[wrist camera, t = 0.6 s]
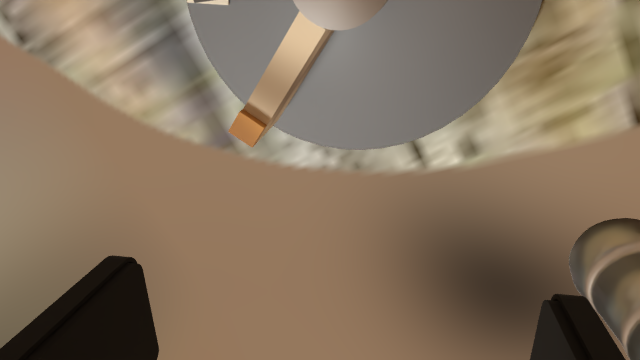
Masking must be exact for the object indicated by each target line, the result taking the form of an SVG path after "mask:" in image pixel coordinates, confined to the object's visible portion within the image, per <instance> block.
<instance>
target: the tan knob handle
mask: <svg viewBox="0 0 640 360" xmlns="http://www.w3.org/2000/svg"><path fill="white" fill-rule="evenodd" d="M293 1H294V3H295V5H296V7H297V8H298V9H299V13H298V14H297V16H296V18H295V20H294V21H293V23H292V25H291V27H290V28H289V30H288V32H287V34H286V35H285V37H284V39H283V41H282V42H281V44H280V46H279V48H278V49H277V51H276V53H275V55H274V56H273V58H272V60H271V61H270V63H269V65H268V67H267V68H266V70H265V72H264V74H263V75H262V77H261V79H260V81H259V82H258V84H257V86H256V88H255V89H254V91H253V93H252V95H251V96H250V98H249V100H248V102H247V103H246V105H245V107H244V109H243V110H241V111H240V112H239V114H238V115H237V117H236V119H235V121H234V122H233V124H232V126H231V128H230V129H229V131H228V132H230V133H231V134H233V135H234V136H236V137H237V138H239V139H240V140H242V141H243V142H245V143H246V144H248V145H249V146H251V147H253V146H254V145H255V144H256V143H257V142H258V141H259V140H260V139H261V138H262V137H263V136H264V135H265V134H266V133H267V131H268V130H269V129H270V128H271V127H272V126H273V125H274V124H275V123H276V122H277V121H278V120H279V118H280V116H281V115H282V113H283V112H284V110H285V108H286V107H287V105H288V104H289V102H290V100H291V99H292V97H293V96H294V94H295V92H296V91H297V89H298V88H299V86H300V84H301V83H302V81H303V80H304V78H305V76H306V75H307V73H308V72H309V70H310V69H311V67H312V65H313V64H314V62H315V61H316V59H317V57H318V56H319V54H320V53H321V51H322V49H323V48H324V46H325V45H326V43H327V41H328V40H329V38H330V37H331V35H332V33H333V32H334V30H348V29H352V28H355V27H358V26H360V25H362V24H364V23H365V22H367V21H368V20H369V19H371V18H372V17H373V16H374V15H375V14H376V13H377V12H379V11H380V10H381V9H382V7H383V6H384V5H385V4H386V2H387V1H388V0H293Z"/></svg>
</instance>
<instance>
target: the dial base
mask: <svg viewBox="0 0 640 360" xmlns="http://www.w3.org/2000/svg"><path fill="white" fill-rule="evenodd" d="M541 3H542V0H388V1H387V2H386V4H385V5H384V6H383V7H382V9H381V10H380V11H379V12H377V13H376V14H375V15H374V16H373V17H372V18H371V19H369V20H368V21H367V22H365V23H364V24H362V25H360V26H358V27H355V28H352V29H348V30H334V32H333V33H332V35H331V37H330V38H329V40H328V41H327V43H326V45H325V46H324V48H323V49H322V51H321V53H320V54H319V56H318V57H317V59H316V61H315V62H314V64H313V65H312V67H311V69H310V70H309V72H308V73H307V75H306V76H305V78H304V80H303V81H302V83H301V84H300V86H299V88H298V89H297V91H296V92H295V94H294V96H293V97H292V99H291V100H290V102H289V104H288V105H287V107H286V108H285V110H284V112H283V113H282V115H281V116H280V118H279V120H278V121H277V122H276V123H275V124H274V125H273V126H274V127H276V128H278V129H279V130H281V131H283V132H285V133H287V134H290V135H292V136H294V137H296V138H299V139H301V140H304V141H308V142H311V143H314V144H317V145H321V146H327V147H333V148H339V149H355V150H365V149H377V148H385V147H390V146H395V145H399V144H404V143H407V142H409V141H412V140H415V139H418V138H421V137H424V136H426V135H428V134H430V133H432V132H434V131H436V130H439V129H441V128H443V127H444V126H446V125H448V124H449V123H451V122H452V121H454V120H455V119H457V118H459V117H460V116H462V115H463V114H464V113H466V112H467V111H468V110H469V109H470V108H472V107H473V106H474V105H475V104H477V103H478V102H479V101H480V100H481V99H482V98H483V97H484V96H485V95H486V94H487V93H488V92H489V91H490V90H491V89H492V88H493V87H494V86H495V85H496V84H497V83H498V82H499V80H500V79H501V78H502V76H503V75H504V74H505V72H506V71H507V70H508V68H509V67H510V66H511V64H512V63H513V62H514V60H515V58H516V57H517V55H518V53H519V52H520V50H521V48H522V47H523V45H524V43H525V42H526V40H527V38H528V36H529V33H530V31H531V29H532V27H533V24H534V22H535V20H536V17H537V15H538V12H539V9H540V6H541ZM187 4H188V8H189V12H190V16H191V19H192V22H193V25H194V28H195V30H196V33H197V36H198V38H199V41H200V43H201V45H202V47H203V49H204V51H205V53H206V55H207V57H208V59H209V60H210V62H211V63H212V65H213V67H214V68H215V70H216V71H217V73H218V74H219V76H220V77H221V79H222V80H223V81H224V82H225V84H226V85H227V86H228V87H229V88H230V90H231V91H232V92H233V93H234V94H235V95H236V96H237V97H238V98H239V99H240V100H241V101H242V102H243V103H244V104H245V105H246V103H247V102H248V100H249V98H250V96H251V95H252V93H253V91H254V89H255V88H256V86H257V84H258V82H259V81H260V79H261V77H262V75H263V74H264V72H265V70H266V68H267V67H268V65H269V63H270V61H271V60H272V58H273V56H274V55H275V53H276V51H277V49H278V48H279V46H280V44H281V42H282V41H283V39H284V37H285V35H286V34H287V32H288V30H289V28H290V27H291V25H292V23H293V21H294V20H295V18H296V16H297V14H298V13H299V9H298V8H297V7H296V5H295V3H294V1H293V0H187Z"/></svg>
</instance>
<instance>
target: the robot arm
mask: <svg viewBox="0 0 640 360" xmlns="http://www.w3.org/2000/svg"><path fill="white" fill-rule="evenodd" d="M158 352H159V347H158V342H157V337H156V332H155V327H154V322H153V317H152V313H151V308H150V303H149V298H148V293H147V288H146V283H145V278H144V273H143V269H142V267H141V265H140V264H137V262H136V260H135V259H134V258H132V257H122V256H108V257H107V258H105V259H104V260H103V261H102V262H101V263H99V264H98V265H97V266H96V267H95V268H94V269H92V270H91V271H90V272H89V273H88V274H87V275H85V277H83V278H82V279H81V280H80V281H79V282H77V283H76V284H75V285H74V286H73V287H71V288H70V289H69V290H68V291H67V292H66V293H65V294H63V295H62V296H61V297H60V298H59V299H58V300H56V301H55V302H54V303H53V304H52V305H51V306H49V307H48V308H47V309H46V310H45V311H44V312H42V313H41V314H40V315H39V316H38V317H37V318H35V319H34V320H33V321H32V322H31V323H30V324H29V325H27V326H26V327H25V328H24V329H23V330H22V331H20V332H19V333H18V334H17V335H16V336H15V337H13V338H12V339H11V340H10V341H9V342H8V343H6V344H5V345H4V346H3V347H2V348H1V349H0V360H157V357H158ZM530 360H625V358H624V357H623V355H622V353H621V352H620V350H619V349H618V347H617V345H616V344H615V342H614V341H613V339H612V337H611V336H610V334H609V332H608V331H607V329H606V328H605V326H604V325H603V323H602V321H601V320H600V318H599V316H598V315H597V313H596V312H595V310H594V308H593V307H592V305H591V304H590V302H589V300H588V299H587V298H586V297H584V296H574V295H562V294H555V295H553V297H552V299H551V300H544V301H543V303H542V307H541V312H540V316H539V320H538V325H537V330H536V334H535V339H534V344H533V349H532V353H531V358H530Z"/></svg>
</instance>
